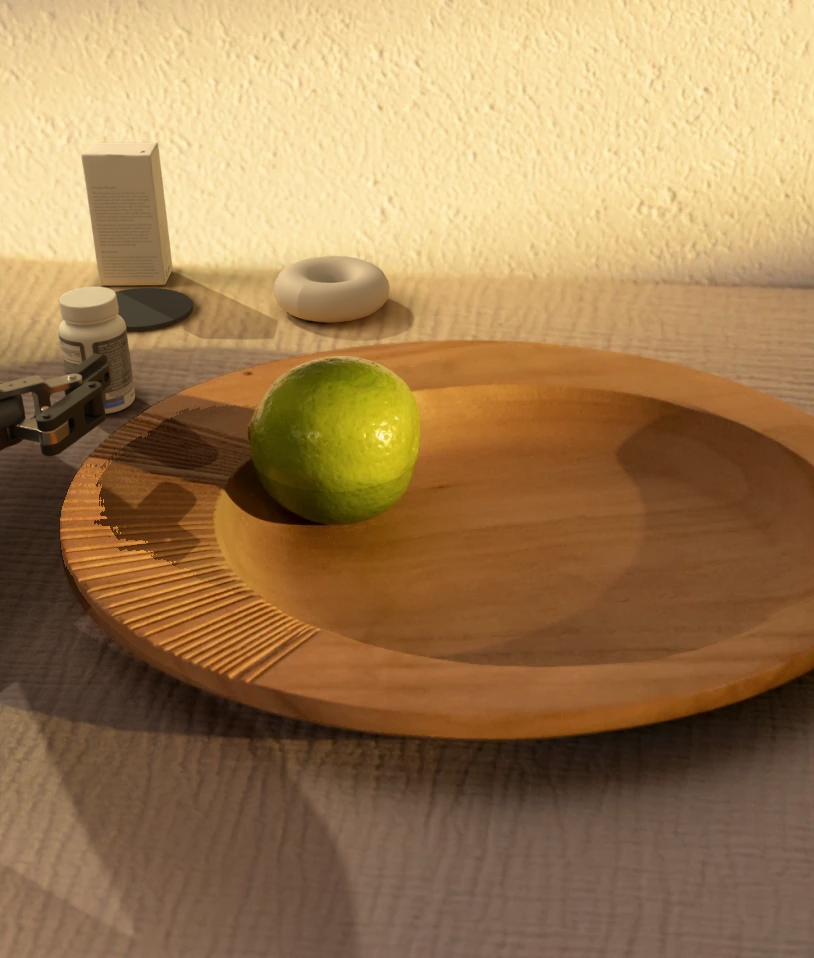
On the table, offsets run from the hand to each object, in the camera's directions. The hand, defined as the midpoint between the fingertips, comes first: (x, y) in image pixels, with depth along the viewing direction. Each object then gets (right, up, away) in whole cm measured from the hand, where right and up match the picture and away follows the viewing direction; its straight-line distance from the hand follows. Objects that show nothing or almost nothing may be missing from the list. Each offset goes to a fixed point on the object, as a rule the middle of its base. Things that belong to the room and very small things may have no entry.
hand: (48, 358), depth 90 cm
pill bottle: (+2, -3, +8) cm, 8 cm away
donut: (+17, +7, +25) cm, 31 cm away
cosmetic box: (-2, +10, +30) cm, 32 cm away
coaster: (0, +6, +23) cm, 24 cm away
